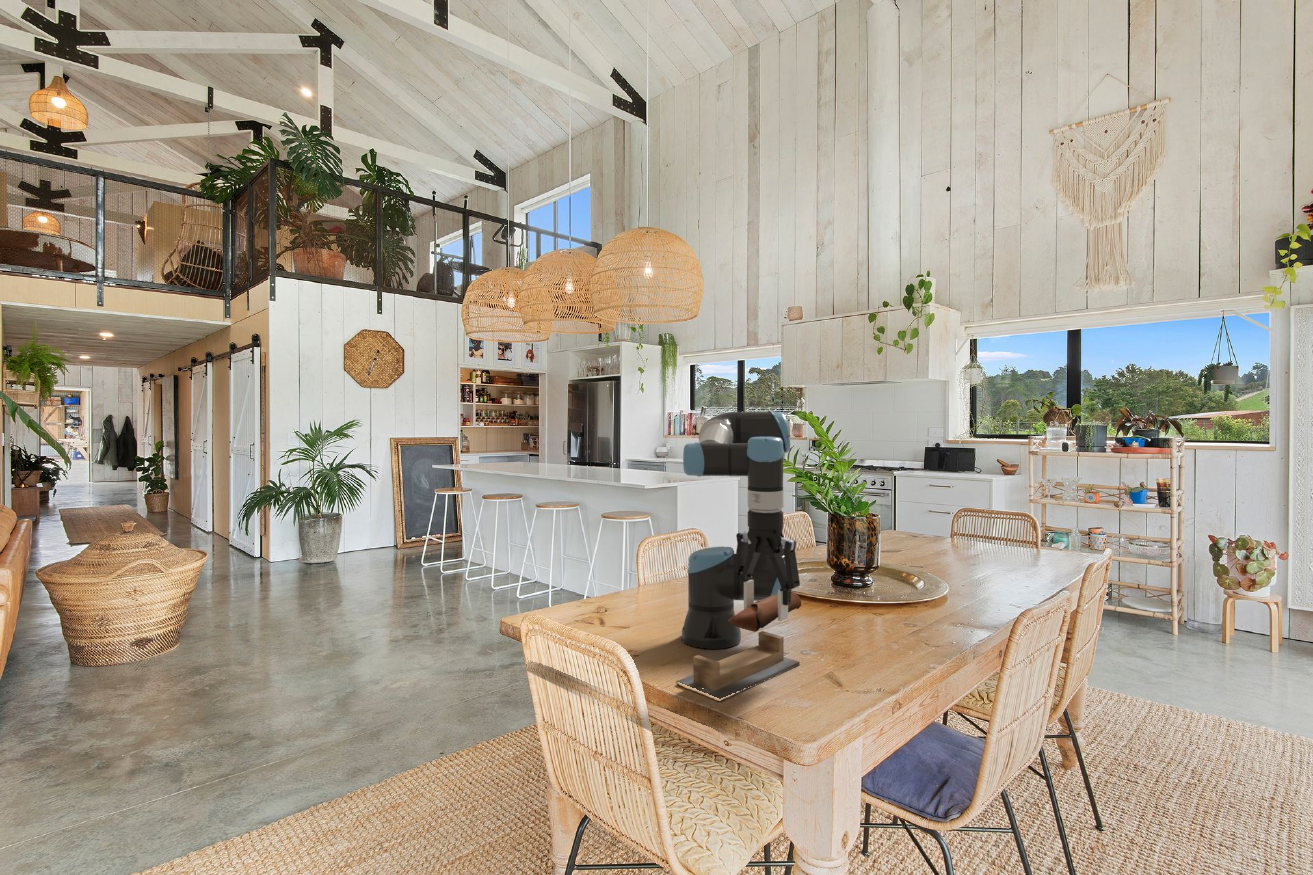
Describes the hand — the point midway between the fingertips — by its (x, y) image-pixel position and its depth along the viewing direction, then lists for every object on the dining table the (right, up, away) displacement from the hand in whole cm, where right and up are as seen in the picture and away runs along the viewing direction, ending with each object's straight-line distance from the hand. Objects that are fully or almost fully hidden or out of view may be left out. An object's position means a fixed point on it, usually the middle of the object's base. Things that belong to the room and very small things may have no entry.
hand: (765, 614), depth 142 cm
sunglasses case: (0, -1, 0) cm, 1 cm away
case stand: (-5, -14, +4) cm, 16 cm away
